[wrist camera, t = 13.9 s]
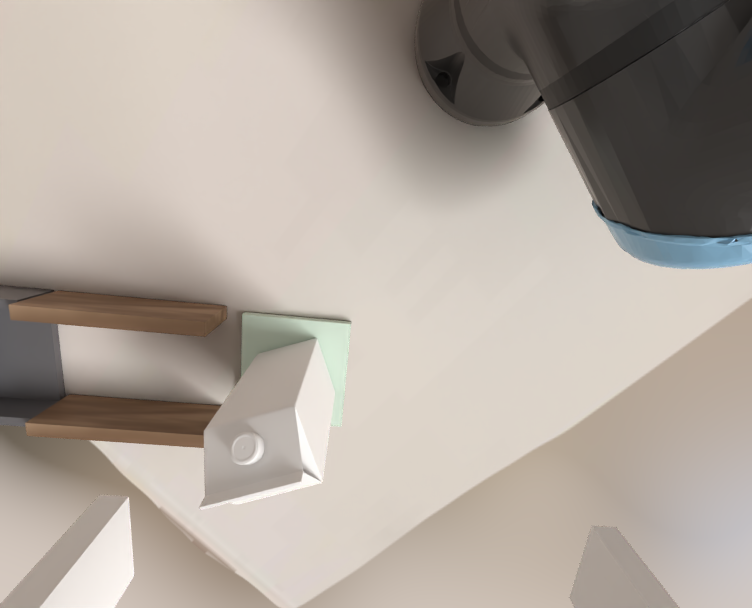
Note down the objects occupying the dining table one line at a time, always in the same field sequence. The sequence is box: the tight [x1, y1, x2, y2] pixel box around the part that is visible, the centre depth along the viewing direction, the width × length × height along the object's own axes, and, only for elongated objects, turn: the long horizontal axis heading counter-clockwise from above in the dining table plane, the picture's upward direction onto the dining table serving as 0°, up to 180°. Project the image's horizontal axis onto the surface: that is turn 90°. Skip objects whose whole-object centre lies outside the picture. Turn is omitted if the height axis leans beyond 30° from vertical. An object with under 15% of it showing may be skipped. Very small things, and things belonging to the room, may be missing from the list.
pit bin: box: [0, 285, 65, 427], centre depth 40 cm, size 14×8×4 cm, turn 174°
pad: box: [241, 312, 351, 427], centre depth 44 cm, size 13×12×1 cm
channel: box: [9, 291, 227, 448], centre depth 40 cm, size 14×18×6 cm
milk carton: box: [199, 338, 335, 510], centre depth 34 cm, size 7×7×19 cm
